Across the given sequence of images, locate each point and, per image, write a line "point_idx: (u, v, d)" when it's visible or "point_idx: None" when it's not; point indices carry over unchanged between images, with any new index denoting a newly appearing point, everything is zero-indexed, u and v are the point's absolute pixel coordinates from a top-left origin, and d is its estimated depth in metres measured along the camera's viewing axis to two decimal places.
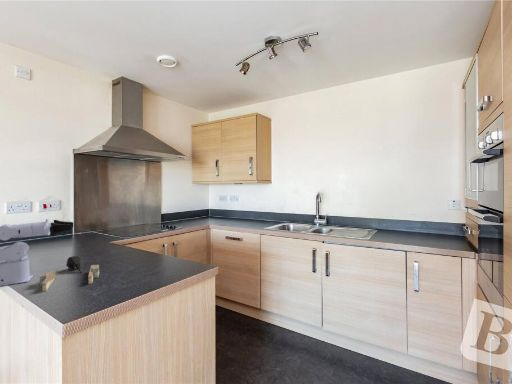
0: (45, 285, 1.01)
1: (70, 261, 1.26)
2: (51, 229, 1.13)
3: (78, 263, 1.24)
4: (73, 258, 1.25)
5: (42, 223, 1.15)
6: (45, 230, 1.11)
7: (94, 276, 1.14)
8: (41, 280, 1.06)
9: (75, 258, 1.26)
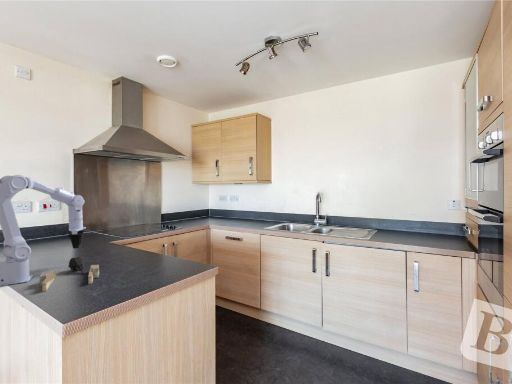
0: (45, 285, 1.01)
1: (72, 262, 1.24)
2: (75, 234, 1.28)
3: (80, 264, 1.23)
4: (75, 259, 1.23)
5: (81, 225, 1.33)
6: (74, 231, 1.26)
7: (94, 276, 1.14)
8: (41, 280, 1.06)
9: (78, 259, 1.24)
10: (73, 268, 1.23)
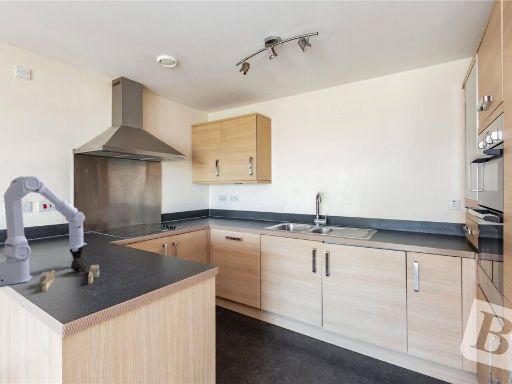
0: (45, 285, 1.01)
1: (75, 263, 1.22)
2: None
3: (83, 265, 1.20)
4: (78, 260, 1.21)
5: (82, 242, 1.33)
6: (75, 248, 1.27)
7: (94, 276, 1.14)
8: (41, 280, 1.06)
9: (80, 260, 1.22)
10: (76, 269, 1.21)
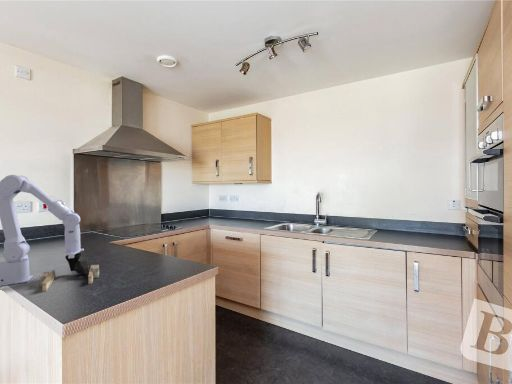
0: (45, 285, 1.01)
1: (78, 265, 1.18)
2: None
3: (86, 268, 1.16)
4: (81, 262, 1.17)
5: (79, 247, 1.20)
6: (71, 255, 1.14)
7: (94, 276, 1.14)
8: (41, 280, 1.06)
9: (84, 263, 1.17)
10: (79, 272, 1.17)
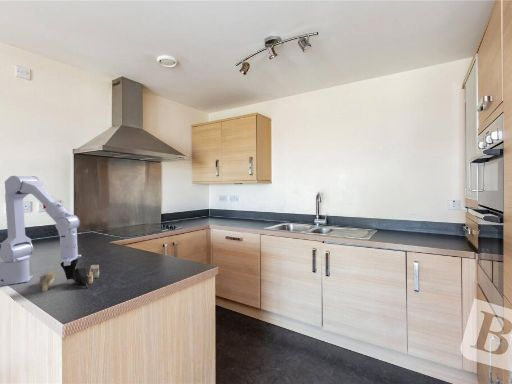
0: (45, 285, 1.01)
1: (76, 273, 1.07)
2: None
3: (85, 276, 1.06)
4: (80, 270, 1.07)
5: (75, 253, 1.09)
6: (67, 262, 1.03)
7: (94, 276, 1.14)
8: (41, 280, 1.06)
9: (82, 271, 1.07)
10: (77, 281, 1.07)
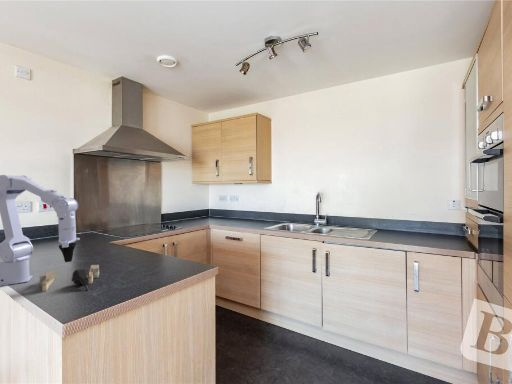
0: (45, 285, 1.01)
1: (76, 275, 1.05)
2: None
3: (85, 278, 1.03)
4: (79, 272, 1.04)
5: (74, 236, 1.10)
6: (65, 244, 1.04)
7: (94, 276, 1.14)
8: (41, 280, 1.06)
9: (82, 272, 1.05)
10: (77, 282, 1.05)
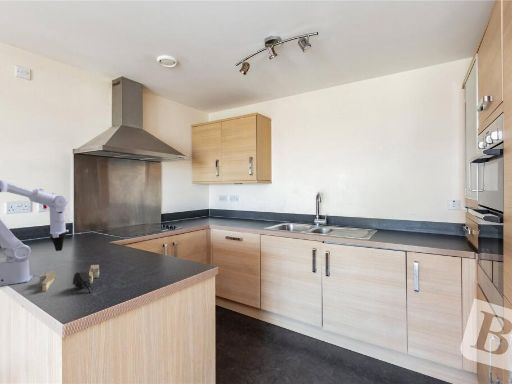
0: (45, 285, 1.01)
1: (77, 278, 1.02)
2: (57, 237, 1.23)
3: (87, 280, 1.01)
4: (81, 274, 1.02)
5: (63, 228, 1.25)
6: (55, 234, 1.19)
7: (94, 276, 1.14)
8: (41, 280, 1.06)
9: (83, 274, 1.02)
10: (78, 285, 1.02)
